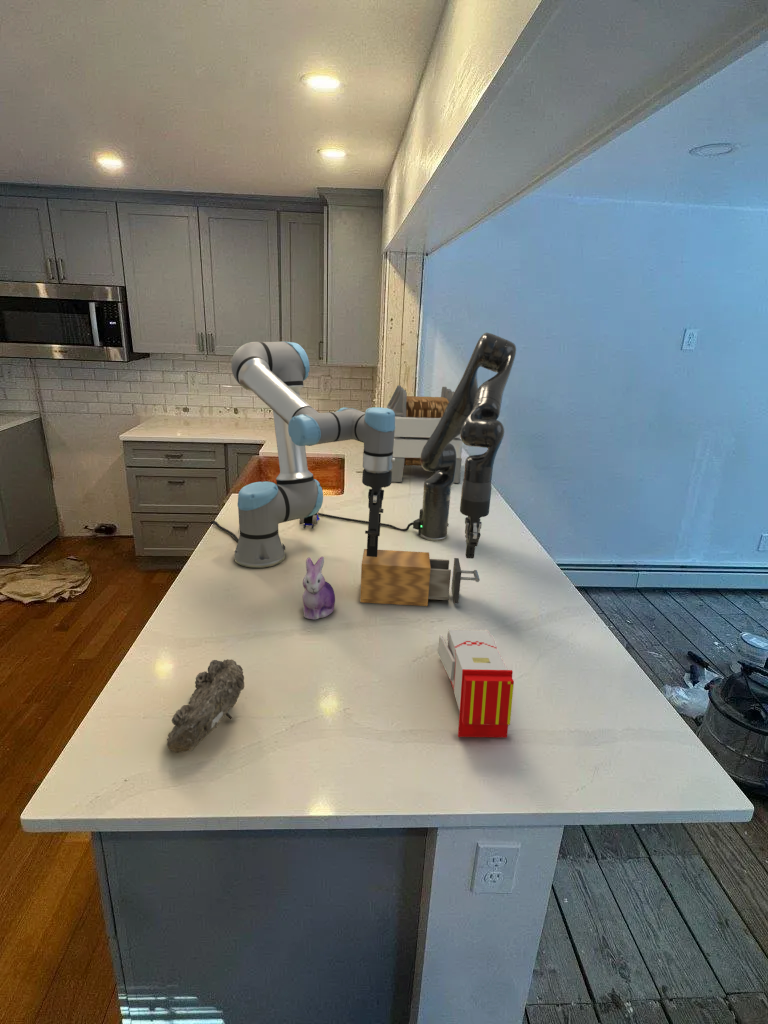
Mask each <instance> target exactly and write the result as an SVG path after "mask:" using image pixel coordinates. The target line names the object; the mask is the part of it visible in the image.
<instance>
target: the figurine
mask: <svg viewBox="0 0 768 1024" xmlns="http://www.w3.org/2000/svg"><path fill="white" fill-rule="evenodd" d="M324 563H325V557H324V556H320V557H319V558H318V559H317V561H316V563H315V564H314V561H313V560H312V558H311V557H307V558H306V561H305V568H306V572H305V575H304V577H303V580H302V586H303V588H304V589H305V590H304V592H303V594H302V603H303V608H302V611H303V617H304V618H305V619H309V620H314V621H315V620H319V619H321V618H327V617H328V616H330V615H331V614H332V613H334V611H335V605H336V604H335V603H336V594H335V590H334V588H333V586H332V585H331V584H330V583H329V582H328V581H327V580H326V579H325V577H324V575H323V573H322V572H323V567H324V565H325V564H324Z"/></svg>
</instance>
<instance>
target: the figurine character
mask: <svg viewBox="0 0 768 1024" xmlns="http://www.w3.org/2000/svg"><path fill="white" fill-rule="evenodd" d="M318 513H319V511H318V512H317V513H316V514H315V515H312V516H308V517H307V518H300V519H298V522H299V523H298V524H299V525H300V526H303V527H302V528H303V529H304V530H305V529H306V528H307V526H308V527H310V526H311V530H313V529H314V527H315V526H316V525H318V521H319V520H320V517H319V515H318Z"/></svg>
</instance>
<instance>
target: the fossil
mask: <svg viewBox="0 0 768 1024" xmlns="http://www.w3.org/2000/svg"><path fill="white" fill-rule="evenodd" d="M243 670H244V669H243V667H242V665H240V664H237V662H236V661H235V660H234V659H232V658H231V659H227V658H226V659H224V660H223V661H222V660H217V659H212V660H211V661H210V663H209V665H208V666H207V671H201V672H199V673H198V674H197V675H196V676H195V680H194V684H195V685H194V687H195V689H194V690H193V693H192V694H191V697H190V698H189V700H188V704H184V705H182V706H181V707H180V709H177V710H176V711H175V713H174V715H173V716H172V718H171V723H172V724H173V727H172V730H171V731H170V732H168V734H167V738H166V741H167V742H166V745H167V749H168V750H169V751H173V752H174V753H176V754H178V753H182V752H188V751H189V752H192V751H193V750H195V748H196V747H197V746H199V744H200V743H201V742H203V741H204V740H205V739H206V738H207V737H208V736H209V735H210V734H211V733H212V732H214V730H215V729H217V727H218V726H219V724H220V722H221V721H222V720H223V719H224V718H225V716H226V717H227V719H229V720H233V717H232V715H230V714H229V710H230V709H231V708H234V706H235V704H236V703H237V702H238V699H239V697H240V695H241V693H242V691H243V690H245V689H244V688H245V675H244V671H243Z"/></svg>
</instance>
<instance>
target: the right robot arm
mask: <svg viewBox="0 0 768 1024" xmlns="http://www.w3.org/2000/svg"><path fill="white" fill-rule="evenodd" d="M516 355H517V346H516V344H515V343H514V342H512V341H510V340H508V339H506V338H504V337H501V336H499V335H496V334H493V333H490V332H484V333H483V334H481V336H480V337H479V339H478V340H477V342H476V344H475V346H474V348H473V351H472V353H471V356H470V358H469V361H468V363H467V365H466V368H465V370H464V372H463V375H462V377H461V379H460V381H459V382H458V385H457V386H456V388H455V390H454V394H453V395H452V397H451V399H450V401H449V403H448V405H447V407H446V409H445V412H444V414H443V416H442V418H441V420H440V421H439V423H438V425H437V427H436V429H435V430H434V432H433V434H432V435H431V437H430V438H429V440H428V441H427V443H426V444H425V446H424V448H423V450H422V452H421V457H420V462H421V466H420V467H422V469H423V470H424V471H426V472H432V473H433V472H434V473H433V474H432V475H431V476H429V477H428V478H426V479H425V480H424V482H423V493H422V496H423V497H422V506H421V508H420V509H419V516H418V518H416V519H415V520H413V521H412V522H410V523H408V524H407V527H405V528H400V527H397V526H395V525H392V524H389V523H384V522H383V523H382V522H380V527H381V526H382V527H388V528H392V529H394V530H396V531H401V532H406V531H409V529H410V527H411V526H412V529H414V530H417V535H418V536H420V538H421V539H424V540H426V541H432V542H440V541H444V540H446V539H447V538H448V528H449V526H450V525H449V517H450V516H449V514H450V504H451V494H452V493H451V491H452V486H453V484H454V483H453V481H454V474H455V467H456V450H455V448H454V446H453V445H452V444H451V443H450V442H451V441H452V440H453V439H454V438H456V437H457V436H458V435H460V436H461V438H460V439H461V440H462V442H463V443H462V444H463V445H465V446H468V447H472V448H473V447H475V448H484V449H485V448H486V449H487V450H486V451H485V452H484V453H479V454H471V455H469V456H467V457H466V459H465V462H464V471H463V472H464V473H463V480H462V484H461V493H460V503H459V512H460V514H462V515H463V516H465V517H464V524H465V527H464V534H465V535H464V536H465V559H472V560H473V559H474V558H475V554H476V553H475V552H476V547H478V546H479V545H478V544H479V541H480V538H481V536H482V535H481V529H482V525H483V524H482V523H483V522H482V521H481V518H486V517H487V516H488V515H489V513H490V506H491V497H492V480H493V471H494V464H495V460H496V457H497V453H498V451H499V450H500V446H501V444H502V443H503V440H504V437H505V427H504V424H503V423H502V421H500V420H498V419H499V417H500V414H501V408H502V402H503V401H502V400H503V396H504V392H505V388H506V386H507V383H508V380H509V378H510V375H511V371H512V369H513V366H514V362H515V359H516ZM479 368H483V369H485V370H488V371H491V372H492V373H496V374H495V375H494V376H492V377H490V378H488V379H487V380H485V381H484V382H482V383H481V385H479V384H478V370H479ZM318 516H322V517H326V518H330V519H331V518H332V519H335V520H336V519H337V520H342V521H347V522H355V523H360V524H361V523H362V524H368V523H369V520H362V519H355V518H348V517H342V516H337V515H331V514H327V513H322V512H318Z"/></svg>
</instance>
